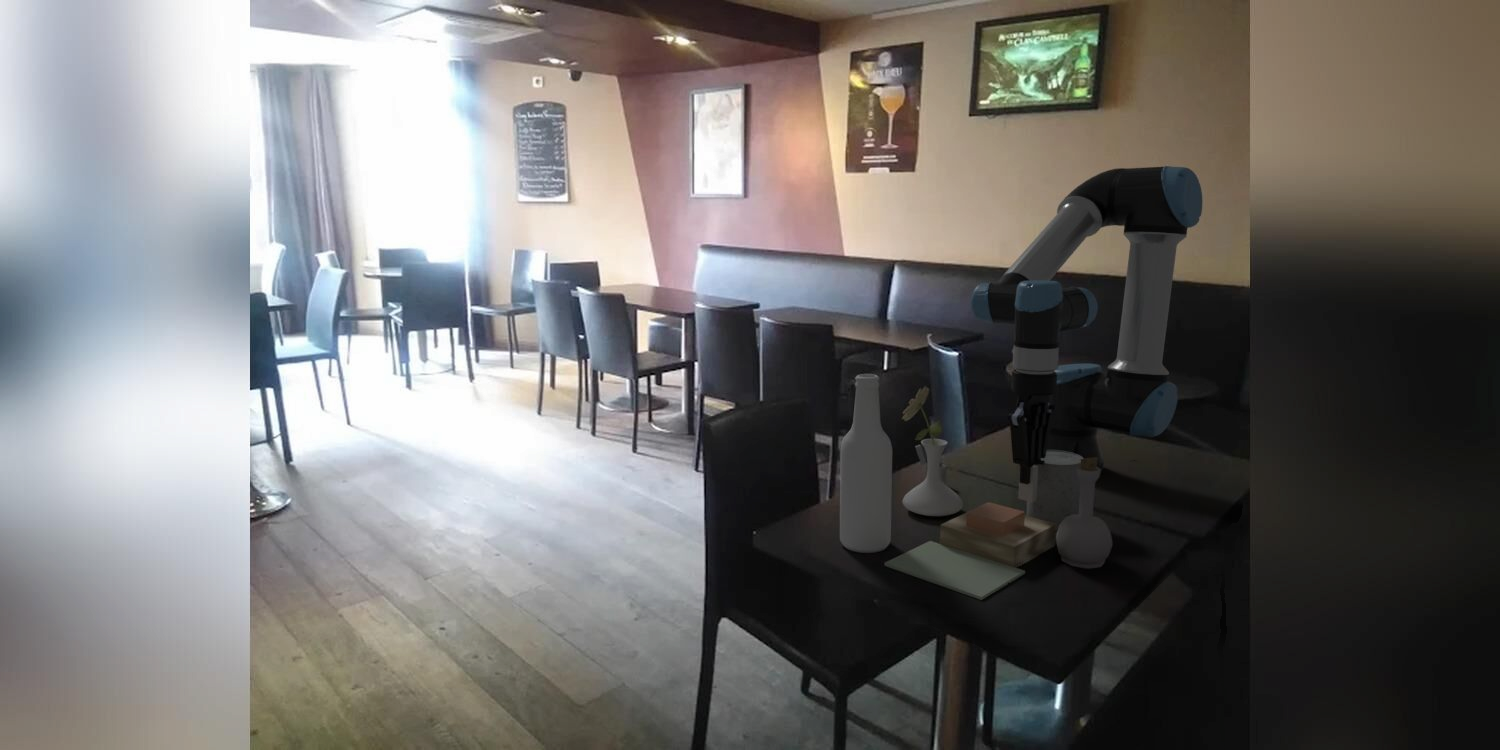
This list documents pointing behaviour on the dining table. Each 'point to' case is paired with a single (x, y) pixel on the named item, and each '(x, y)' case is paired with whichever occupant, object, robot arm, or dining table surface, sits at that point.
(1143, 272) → the robot arm
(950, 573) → the rubber mat
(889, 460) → the alcohol
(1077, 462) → the white cylinder
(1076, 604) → the dining table surface
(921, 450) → the lighter
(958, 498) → the flower in vase
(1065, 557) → the potion bottle
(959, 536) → the birch board
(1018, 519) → the terracotta tile
